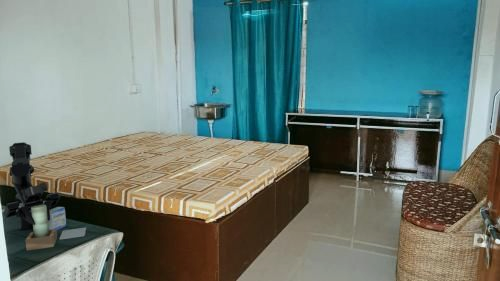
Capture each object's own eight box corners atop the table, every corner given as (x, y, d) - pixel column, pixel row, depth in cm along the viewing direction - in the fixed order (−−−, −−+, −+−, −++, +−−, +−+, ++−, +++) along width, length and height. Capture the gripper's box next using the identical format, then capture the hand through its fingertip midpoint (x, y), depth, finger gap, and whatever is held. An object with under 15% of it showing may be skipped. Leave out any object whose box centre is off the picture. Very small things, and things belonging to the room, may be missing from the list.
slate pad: (63, 231, 152) (62, 230, 152) (86, 228, 155) (86, 227, 155) (59, 239, 144) (59, 238, 144) (84, 236, 147) (84, 234, 147)
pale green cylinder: (36, 237, 141) (32, 205, 139) (50, 235, 142) (47, 204, 141) (33, 241, 136) (29, 209, 135) (48, 239, 138) (44, 207, 136)
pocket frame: (32, 241, 142) (31, 232, 142) (57, 238, 145) (56, 228, 145) (26, 250, 134) (25, 240, 133) (53, 246, 137) (52, 236, 136)
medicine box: (53, 232, 152) (51, 212, 151) (44, 232, 153) (42, 212, 152) (66, 226, 160) (65, 206, 158) (57, 225, 160) (56, 206, 159)
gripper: (3, 182, 131) (20, 217, 126) (55, 172, 146) (72, 203, 141) (-4, 200, 137) (12, 234, 132) (47, 189, 152) (64, 219, 147)
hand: (42, 222), depth 138 cm, fingers closed on pale green cylinder, 5 cm apart
